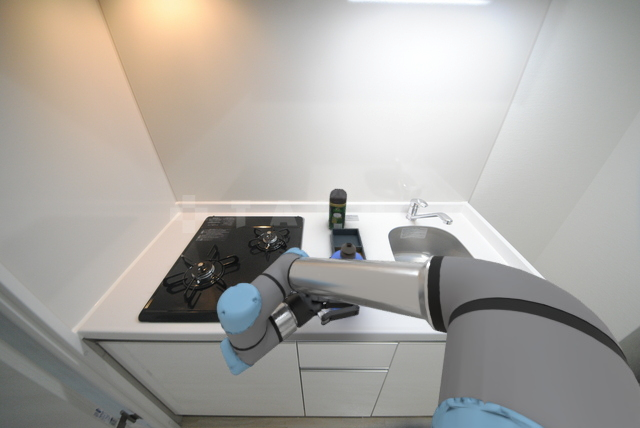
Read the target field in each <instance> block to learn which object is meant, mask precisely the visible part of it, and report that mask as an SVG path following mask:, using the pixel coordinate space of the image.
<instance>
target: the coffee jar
mask: <svg viewBox="0 0 640 428" xmlns="http://www.w3.org/2000/svg"><path fill="white" fill-rule="evenodd" d="M347 201H348V193H347V191H346V190H344V189H343V188H334V189H332V190H331V191H330V193H329V199H328V228H329V229H330V230H331V228H345V225H346V211H347Z"/></svg>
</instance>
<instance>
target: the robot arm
mask: <svg viewBox="0 0 640 428" xmlns="http://www.w3.org/2000/svg"><path fill="white" fill-rule="evenodd" d="M292 292H294V293H292ZM291 293H292V294H291ZM361 307H365V308H368V309H373V310H377V311H381V312H382V311H383V312H386V313H387V312H388V313H392V314H395V315H396V314H397V315H401V316H406V317H411V318H414V319H420V320H423V321H425V322H426V323H427V324H428V325H429V326H430V328H431V329H432V330H433V331H436V332H441V333H443V334H446V338H445V339H446V340H445V345H444V354H443V362H442V371H441V378H440V386H439V394H438V400H437V401H438V402H437V407H436V408H435V410H434V411H433V414H432V419H431V424H430V428H640V383H639V382H638V380H637V378H636V375H635V373H634V372H633V370H632V368H631V367H630V364H629V362H628V360H627V356H626V355H625V352H624V350H623V348H622V346H621V345H620V343H619V342H618V340H617V338H616V336H615V335H614V334H613V333H612V331H611V329H609V327H608V326H607V324H606V323H605V322H604V321H603V320H602V319H601V318H600V317H599V315H597V314H596V313H595V312H594V311H593V310H592V309H590V307H588V305H586V304H585V303H583V301H581V300H580V299H579V298H577V297H576V296H575V295H573V294H571V293H570V292H569V291H567V290H565V289H563V288H562V287H560V286H558V285H557V284H554V283H553V282H551V281H549V280H548V279H544V277H543V278H542V277H540V276H538V275H535V274H533V273H531V272H529V271H526V270H523V269H522V268H521V269H520V268H517V267H513V266H511V265H507V264H504V263H500V262H495V261H491V260H486V259H482V258H476V257H467V256H466V257H465V256H454V255H431V256H430V257H428V258H427V259H426V260H425V261H424V262H419V261H398V260H380V259H379V260H378V259H377V260H376V259H366V260H358V259H336V258H331V256H329V257H316V256H315V257H313V256H312V257H311V256H309V254H308V253H307V252H306V251H304V250H303V249H300V248H299V247H291V248H289V249H288V250H286V251H285V252H284V253H281V254H280V256H279V257H278V258H277V259H276V260H274V261H273V263H271V264H270V265H269V266H268V268H266V269H265V270H264V271H262V273H260V274H259V275H258V276H257V277H256V278H255V279H254V280H252V282H250V283H248V282H241V283H240V282H239V283H237V284H236V285H234V286H229V287H228V288H227V289H226V290H225V291H223V293H222V294H221V295H220V297H219V299H218V301H217V304H216V313H217V317H218V320H219V324H220V327H221V328H222V330H223V331H224V333H225V335H226V336H227V337H225V338H224V339H223V340H222V341H221V342H220V344H219V347H220V351H221V353H222V356H223V358H224V361H225V363H226V364H227V367H228V369H229V371H230V373H231V375H233V376H239V375H241V374H242V373H243V372H245V371H246V370H248V369H249V368H251V367H253V366H254V365H255V364H256V363H257V362H258V361H260V360H261V359H262V358H263V357H265V356H266V355H267V354H268V353H270V352H271V351H272V350H274V349H275V348H276V347H278V346H279V345H280V344H281V343H283V342H284V341H285V340H286V339H288V338H289V337H290V336H291V335H293V334H294V333H296V331H298V328H302V327H303V326H305V324H307V323H308V322H310V321H311V320H312V319H313V318H314V317H318V318H319V320H320V324H321V325H322V326H326V325H327V324H329V323H331V322H334V321H337V320H338V321H339V320H343V319H347V318H351V317H355V316H358V315H359V314H360V308H361ZM331 308H341V309H337V310H332V309H331ZM329 309H331V310H329ZM322 310H329V311H322Z"/></svg>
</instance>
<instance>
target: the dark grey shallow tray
mask: <svg viewBox="0 0 640 428" xmlns="http://www.w3.org/2000/svg"><path fill="white" fill-rule="evenodd" d="M330 240H331V241H330V242H331V252H332V255H333V254H334V253H335V252H337V251H339V250H341V247H342V245H343V244H346V243H351V244H353V245H354V246H355V247H356V252H357V253H358V254H360V255H361V256H362V258H363V260H367V256H366V252H365V249H364V245H363V241H362V237H361V233H360V229H359V228H356V227H353V228H352V227H351V228H349V227H346V228H345V227H344V228H331V229H330Z"/></svg>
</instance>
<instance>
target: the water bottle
mask: <svg viewBox="0 0 640 428" xmlns="http://www.w3.org/2000/svg"><path fill="white" fill-rule="evenodd" d="M330 257H331V258H336V259H358V260H363V258H362V256H361V255H360V254H358V253H357V252H356V247H355V246H354V245H353V244H351V243H346V244H343V245H342V247H341V250H339V251H337V252H335V253H334V254H332V255H330ZM330 309H331V311H332V310H337V309H341V308H330Z"/></svg>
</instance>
